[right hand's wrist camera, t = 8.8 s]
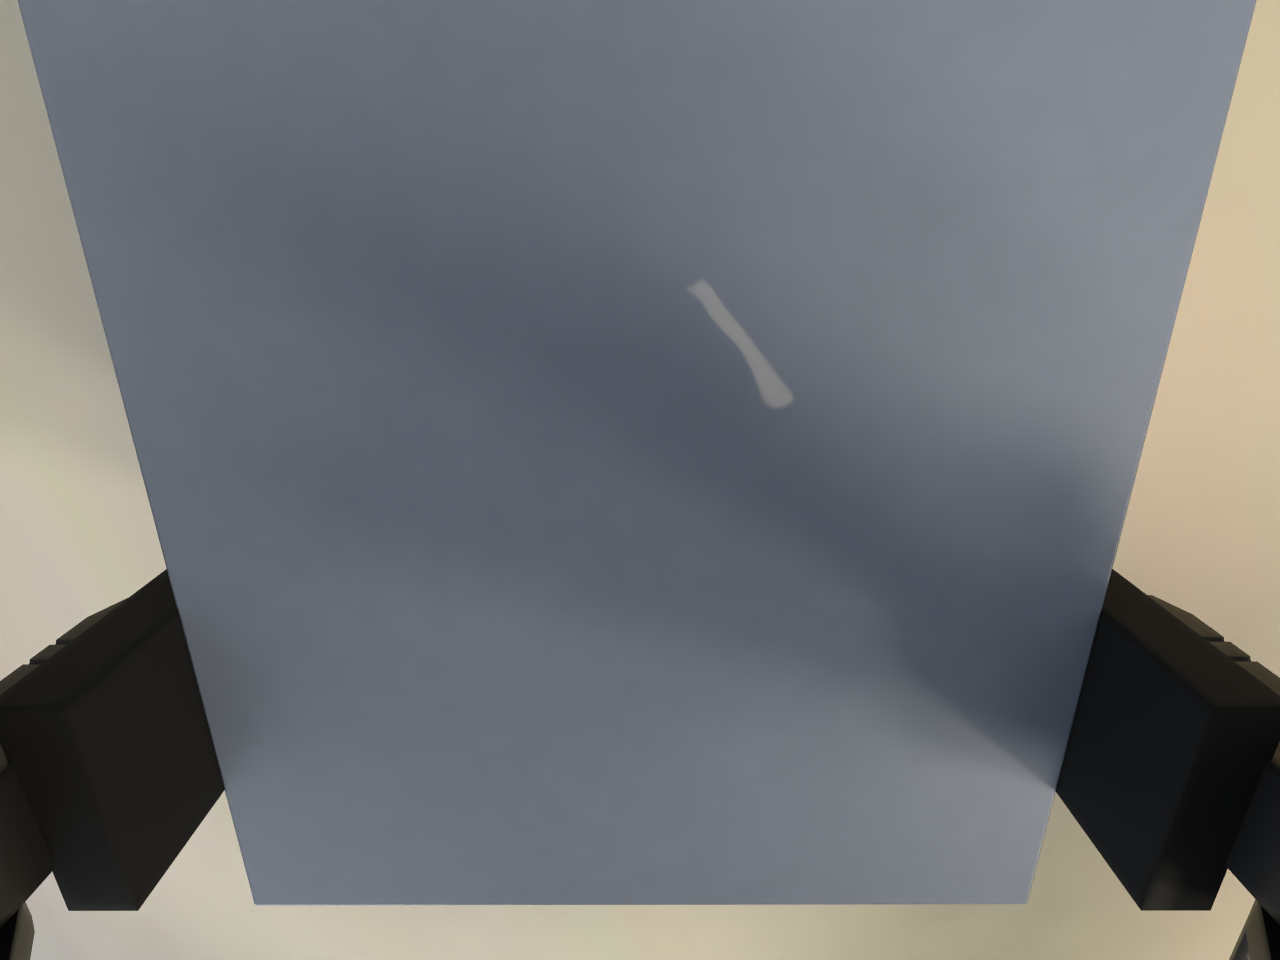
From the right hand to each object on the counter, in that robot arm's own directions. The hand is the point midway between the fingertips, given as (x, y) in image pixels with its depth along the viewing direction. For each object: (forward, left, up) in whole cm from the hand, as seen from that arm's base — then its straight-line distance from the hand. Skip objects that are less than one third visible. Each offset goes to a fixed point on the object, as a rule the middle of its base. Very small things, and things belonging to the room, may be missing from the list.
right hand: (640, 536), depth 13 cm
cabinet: (+3, -6, -4) cm, 9 cm away
